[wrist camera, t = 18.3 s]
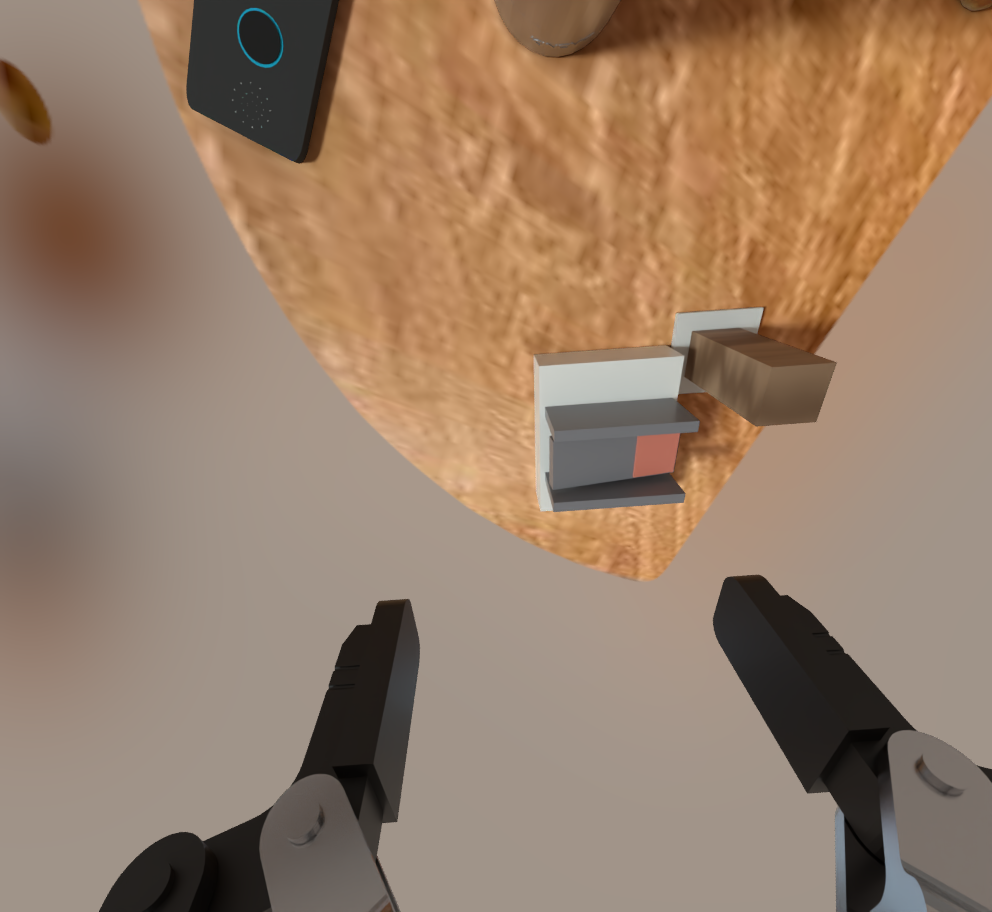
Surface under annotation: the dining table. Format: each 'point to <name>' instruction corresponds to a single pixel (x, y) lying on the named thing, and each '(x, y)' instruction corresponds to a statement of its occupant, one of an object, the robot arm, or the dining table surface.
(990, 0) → the pastry
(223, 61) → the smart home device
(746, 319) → the mat
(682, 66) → the dining table surface
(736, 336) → the peg
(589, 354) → the grey slotted holder
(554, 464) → the rocker
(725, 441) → the dining table surface
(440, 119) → the dining table surface
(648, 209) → the dining table surface
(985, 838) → the robot arm
